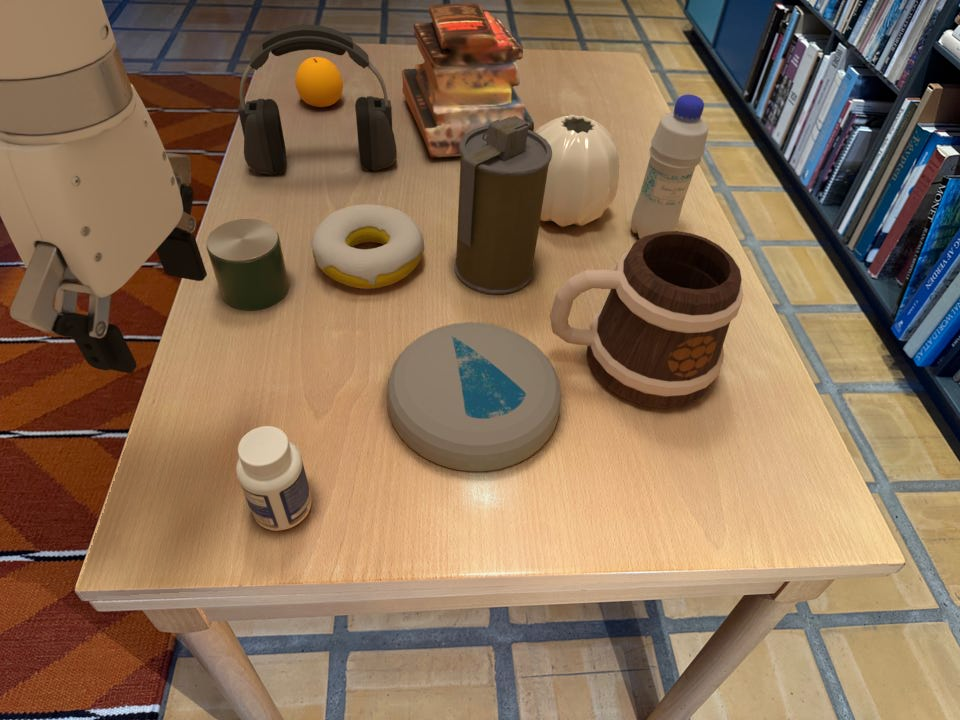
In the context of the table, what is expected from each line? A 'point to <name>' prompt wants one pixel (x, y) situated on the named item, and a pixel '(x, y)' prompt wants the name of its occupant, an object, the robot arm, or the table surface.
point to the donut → (371, 264)
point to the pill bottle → (273, 478)
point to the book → (462, 76)
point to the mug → (657, 318)
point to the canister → (500, 205)
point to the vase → (578, 170)
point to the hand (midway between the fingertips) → (153, 318)
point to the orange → (319, 82)
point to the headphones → (263, 115)
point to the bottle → (670, 167)
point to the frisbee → (473, 396)
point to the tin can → (248, 264)
